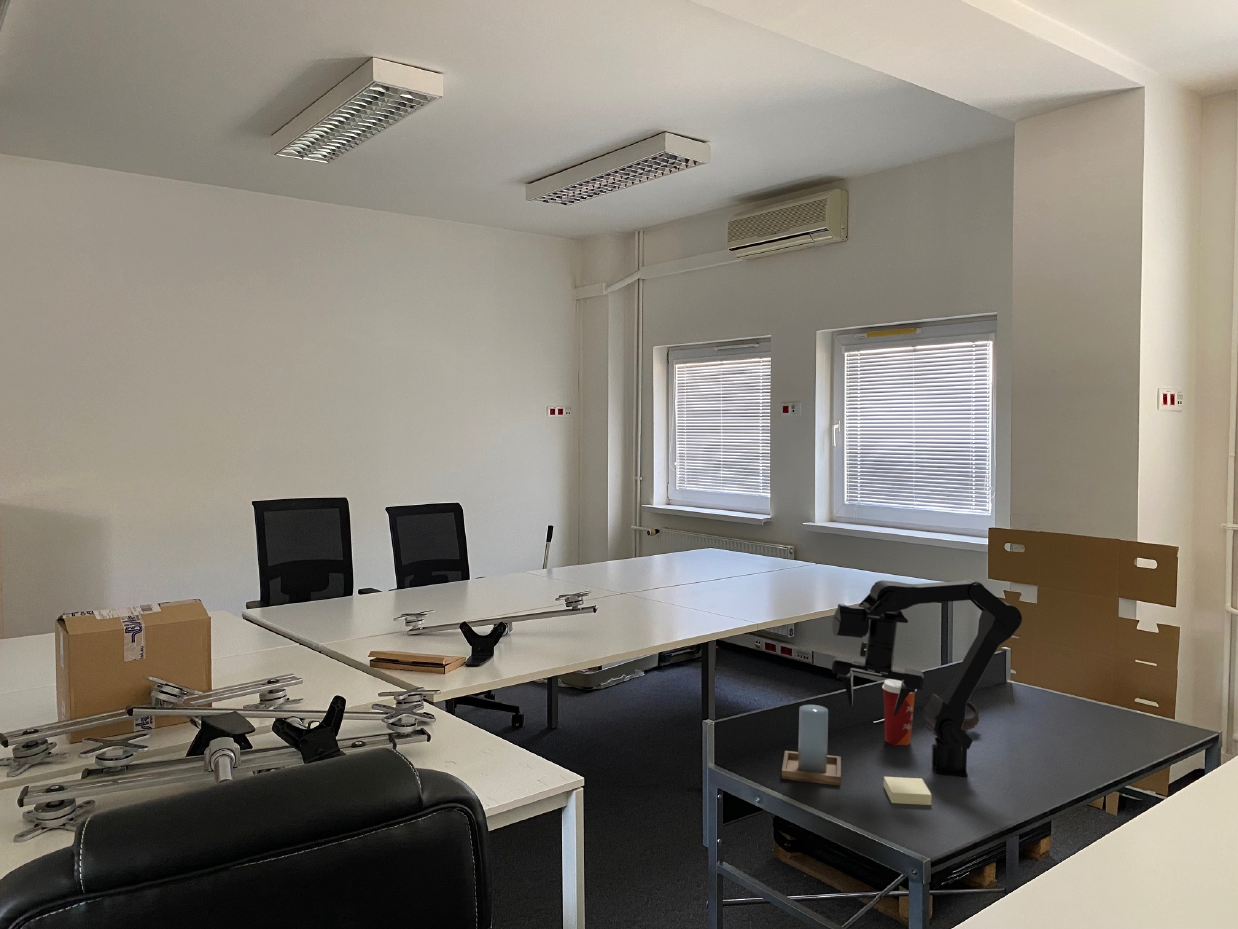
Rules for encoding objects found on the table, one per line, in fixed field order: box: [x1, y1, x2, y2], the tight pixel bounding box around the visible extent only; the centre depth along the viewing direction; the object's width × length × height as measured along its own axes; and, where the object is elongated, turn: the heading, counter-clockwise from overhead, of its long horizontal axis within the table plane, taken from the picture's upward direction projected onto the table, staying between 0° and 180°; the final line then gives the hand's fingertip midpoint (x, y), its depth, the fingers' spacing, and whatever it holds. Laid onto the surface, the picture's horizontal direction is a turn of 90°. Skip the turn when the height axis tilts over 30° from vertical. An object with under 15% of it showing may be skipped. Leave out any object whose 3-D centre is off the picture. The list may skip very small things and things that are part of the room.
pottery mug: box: [962, 700, 980, 732], centre depth 212 cm, size 12×10×8 cm
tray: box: [781, 750, 842, 786], centre depth 184 cm, size 12×11×2 cm
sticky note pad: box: [883, 776, 932, 806], centre depth 173 cm, size 8×8×2 cm
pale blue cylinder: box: [797, 704, 829, 774], centre depth 184 cm, size 6×6×13 cm
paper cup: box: [881, 678, 917, 747], centre depth 202 cm, size 8×8×14 cm
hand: (872, 711), depth 186 cm, fingers open, 9 cm apart
